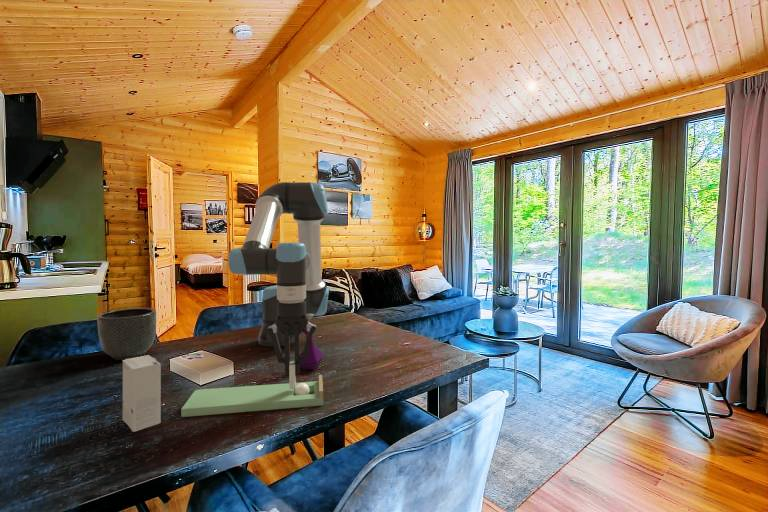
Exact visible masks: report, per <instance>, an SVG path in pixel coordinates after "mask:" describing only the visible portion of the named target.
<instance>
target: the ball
mask: <svg viewBox="0 0 768 512" xmlns="http://www.w3.org/2000/svg"><path fill="white" fill-rule="evenodd" d="M299 383H300V382H299ZM309 392H310V388H309V386H308V385H307V384H305V383H300V384H298V385H297V386H296V388H295V394H294V395H306V394H310V393H309Z"/></svg>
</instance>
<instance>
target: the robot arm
mask: <svg viewBox="0 0 768 512" xmlns="http://www.w3.org/2000/svg"><path fill="white" fill-rule="evenodd" d="M254 208H255V209H254V210H255V213H254V215H253V218H252V220H251V224H250V226H249V228H248V231H247V232H246V236H245V238H244V241H243V244H242V246H241V247H237V248H233V249H232V248H231V249H230V251H229V254H228V257H227V258H228V261H227V262H228V268H229V270H230V272H231V273H232V274H234V275H244V276H251V275H276V285H270V286H267V287H265V288H264V289H263V290H262V292H261V293H262V295H261V303H262V304H261V305H262V306H261V311H262V325H261V328H260V331H259V334H258V340H257V341H258V345H260V346H262V347H267V348H268V347H269V348H270V347H271V348H272V347H273V349H274V353H275V356H276V360H277V363H278V364H284V376H285V377H288V379H289V382H288V383H289V386H290V389H295V387H296V383H297V380H296V379H297V377H296V376H299V375H300V373H301V367H300V363H301V362H303V361H306V359H307V354H308V350H309V346H310V342H311V338H312V339H313V334H315V332H316V330H317V325H316V324H315V323H311V322H310V321H309V322H308V319H307V317H306V314H315V315H314V317H316V316H317V317H318V316H324V315H325V314H326V313H327V308H328V302H329V294H330V287H328V286H326V282H325V281H324V280H323V279H322V276H323V275H322V242H321V223H322V221H323V220H324V219H325V215H328V213H329V210H328V200H327V194H326V189H325V186H324V185H323V184H322V183H319V182H303V181H302V182H300V181H299V182H294V181H293V182H291V181H290V182H289V181H288V182H287V181H285V182H282V181H281V182H278V183H274V184H273V185H270V186H268V187H267V188H266V189H265V190H263V192H261V194H259V196H258V197H257V198H256V202H255V205H254ZM282 214H288V215H289V214H291V215H292V217H293V220H294V222H296V223H297V236H298V237H297V238H298V241H297V242H279V243H278V244H277V245H276V248H275V247H274V248H270V245H271V243H272V240H273V236H274V232H275V229H276V225H277V222H278V218H280V217H281V216H282ZM306 326H307V331H308V333H307V337H306V336H305V342H304V346H303V349H304V350H303V349H302V351H303V354H302V356H300V354H301V352H300V351H301V350H300V347H301V346H300V343H301V342H300V339H301V338H300V334H301V335H302V333H303V332H302V331H303V330H304V328H305V327H306ZM292 344H294V361H291V345H292ZM281 347H284V354H283V352H282V349H281ZM283 355H284V356H283Z"/></svg>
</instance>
